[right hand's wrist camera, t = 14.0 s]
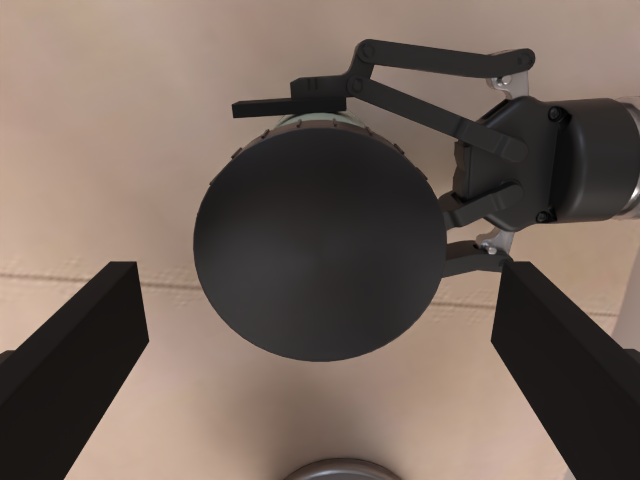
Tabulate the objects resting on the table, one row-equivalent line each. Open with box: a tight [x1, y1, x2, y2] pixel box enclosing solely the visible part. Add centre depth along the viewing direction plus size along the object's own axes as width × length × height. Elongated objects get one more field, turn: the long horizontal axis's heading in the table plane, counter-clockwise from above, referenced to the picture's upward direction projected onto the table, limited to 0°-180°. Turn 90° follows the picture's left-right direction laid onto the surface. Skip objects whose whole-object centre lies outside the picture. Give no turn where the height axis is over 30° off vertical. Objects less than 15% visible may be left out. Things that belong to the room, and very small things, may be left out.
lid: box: [193, 118, 447, 362], centre depth 18 cm, size 10×10×2 cm
